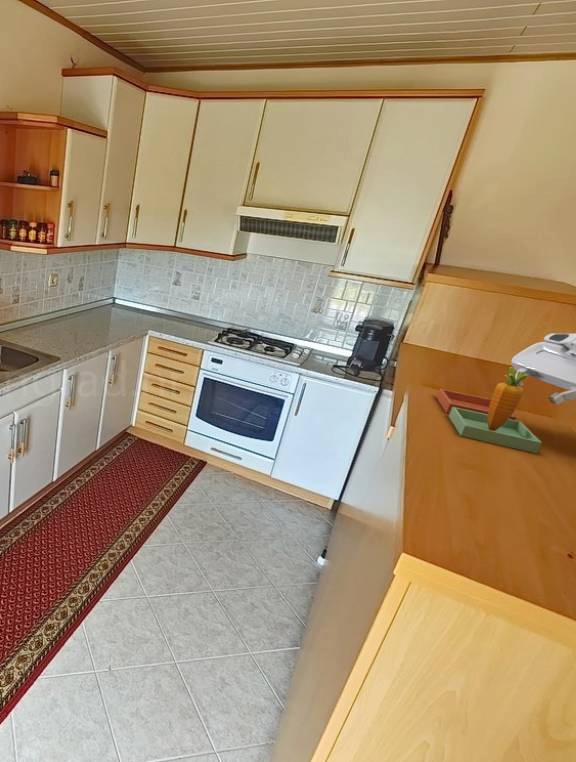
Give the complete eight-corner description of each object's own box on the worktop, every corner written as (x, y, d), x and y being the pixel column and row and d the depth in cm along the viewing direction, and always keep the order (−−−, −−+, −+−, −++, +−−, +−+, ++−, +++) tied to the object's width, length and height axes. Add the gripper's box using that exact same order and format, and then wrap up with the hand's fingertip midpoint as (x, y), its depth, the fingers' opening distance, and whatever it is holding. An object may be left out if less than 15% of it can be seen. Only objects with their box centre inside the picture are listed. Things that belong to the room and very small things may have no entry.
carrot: (509, 438, 108) (538, 374, 103) (482, 432, 109) (509, 369, 104) (499, 429, 112) (527, 368, 107) (473, 424, 114) (499, 363, 108)
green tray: (516, 431, 114) (521, 421, 113) (536, 453, 103) (542, 442, 102) (448, 416, 119) (452, 406, 118) (460, 435, 108) (465, 425, 107)
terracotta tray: (496, 410, 127) (500, 401, 126) (512, 427, 116) (517, 417, 115) (436, 397, 133) (439, 388, 132) (446, 412, 122) (450, 403, 121)
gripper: (653, 381, 96) (585, 422, 99) (551, 351, 115) (496, 386, 118) (644, 358, 94) (575, 401, 97) (542, 331, 113) (487, 368, 116)
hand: (531, 393), depth 108 cm, fingers open, 8 cm apart
